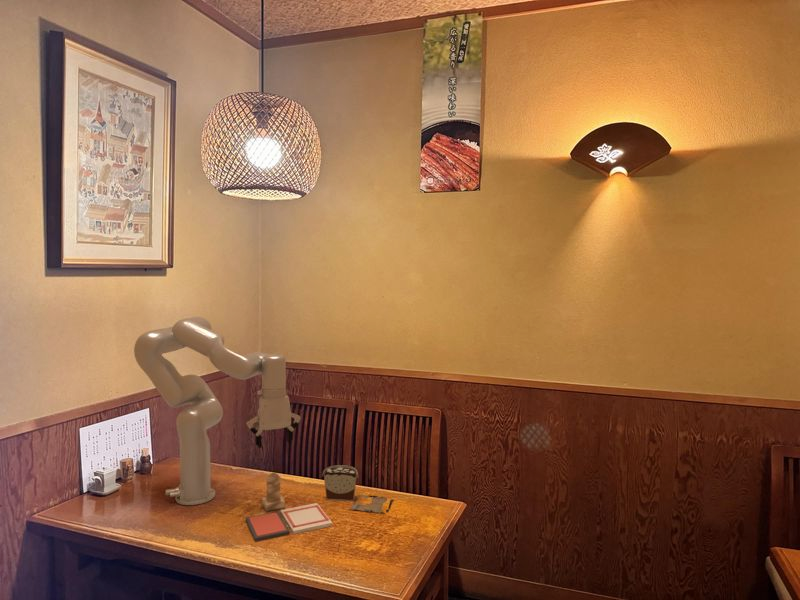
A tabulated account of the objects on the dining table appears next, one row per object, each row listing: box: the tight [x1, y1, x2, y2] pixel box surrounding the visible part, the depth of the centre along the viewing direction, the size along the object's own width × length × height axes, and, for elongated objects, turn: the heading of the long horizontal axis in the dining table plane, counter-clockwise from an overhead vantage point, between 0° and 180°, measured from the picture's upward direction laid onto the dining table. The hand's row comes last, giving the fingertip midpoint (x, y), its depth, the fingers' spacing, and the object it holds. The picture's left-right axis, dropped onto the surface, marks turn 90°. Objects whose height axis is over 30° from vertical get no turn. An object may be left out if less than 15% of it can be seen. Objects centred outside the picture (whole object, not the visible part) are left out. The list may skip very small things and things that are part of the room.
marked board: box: [280, 502, 333, 535], centre depth 167 cm, size 12×15×1 cm
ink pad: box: [245, 510, 291, 543], centre depth 162 cm, size 10×14×1 cm
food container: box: [321, 464, 359, 502], centre depth 184 cm, size 12×6×10 cm, turn 84°
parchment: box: [350, 494, 393, 515], centre depth 179 cm, size 12×13×1 cm
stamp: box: [261, 472, 286, 513], centre depth 175 cm, size 6×6×11 cm
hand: (274, 444), depth 175 cm, fingers open, 9 cm apart
